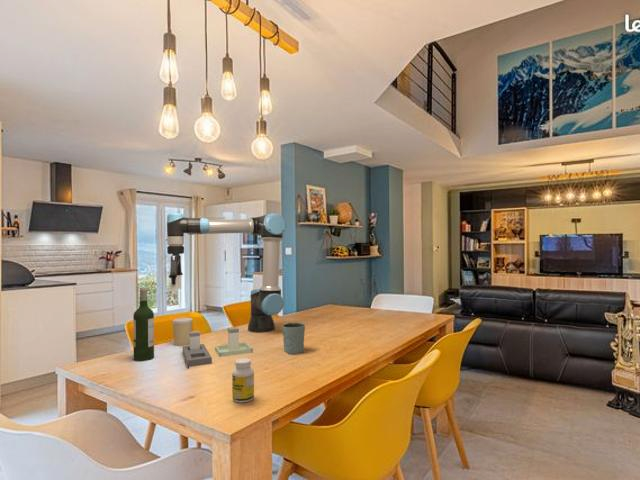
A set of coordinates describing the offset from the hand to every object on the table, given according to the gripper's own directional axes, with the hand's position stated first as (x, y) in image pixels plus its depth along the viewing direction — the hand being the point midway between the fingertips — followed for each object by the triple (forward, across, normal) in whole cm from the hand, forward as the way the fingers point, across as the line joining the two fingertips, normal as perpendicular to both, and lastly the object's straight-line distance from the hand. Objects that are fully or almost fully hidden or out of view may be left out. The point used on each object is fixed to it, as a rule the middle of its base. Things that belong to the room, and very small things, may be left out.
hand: (176, 290), depth 177 cm
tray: (+27, +19, +26) cm, 42 cm away
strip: (+27, +24, +11) cm, 37 cm away
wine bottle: (+27, +17, -11) cm, 34 cm away
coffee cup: (+27, -4, +2) cm, 27 cm away
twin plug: (+27, +18, +10) cm, 34 cm away
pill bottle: (+27, +72, +29) cm, 82 cm away
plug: (+26, +19, +26) cm, 41 cm away
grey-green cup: (+27, +26, +52) cm, 64 cm away
